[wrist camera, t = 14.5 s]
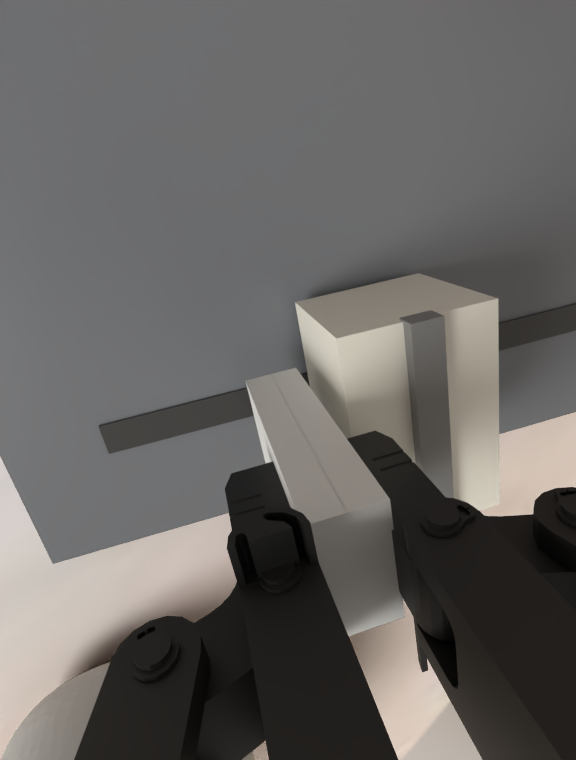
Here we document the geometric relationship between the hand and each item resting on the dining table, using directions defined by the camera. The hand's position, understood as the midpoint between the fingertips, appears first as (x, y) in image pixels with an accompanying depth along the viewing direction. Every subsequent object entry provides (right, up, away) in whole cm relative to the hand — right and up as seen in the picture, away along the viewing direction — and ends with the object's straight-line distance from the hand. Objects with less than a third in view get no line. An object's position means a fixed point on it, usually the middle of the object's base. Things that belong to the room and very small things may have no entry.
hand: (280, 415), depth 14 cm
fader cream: (+3, +1, +2) cm, 4 cm away
